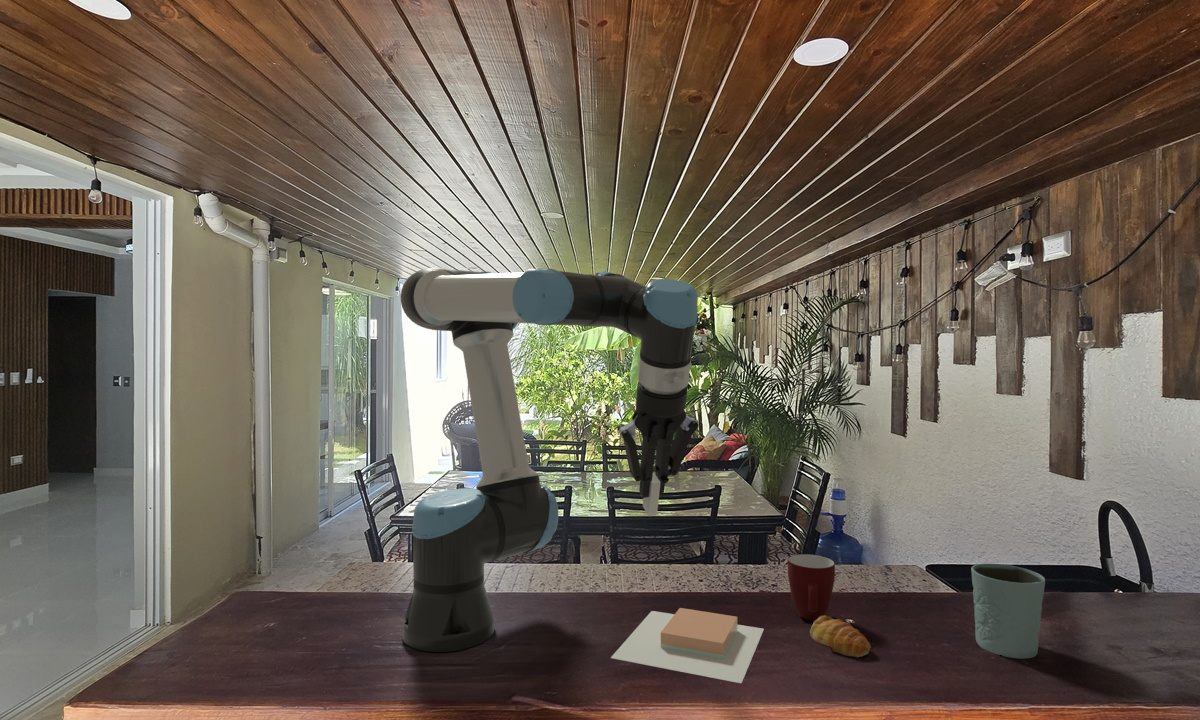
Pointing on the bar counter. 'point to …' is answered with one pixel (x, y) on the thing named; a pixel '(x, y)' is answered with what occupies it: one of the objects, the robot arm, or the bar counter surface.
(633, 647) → the mat
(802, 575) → the mug
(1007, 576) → the green ceramic cup
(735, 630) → the tile
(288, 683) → the bar counter surface
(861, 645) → the pastry
